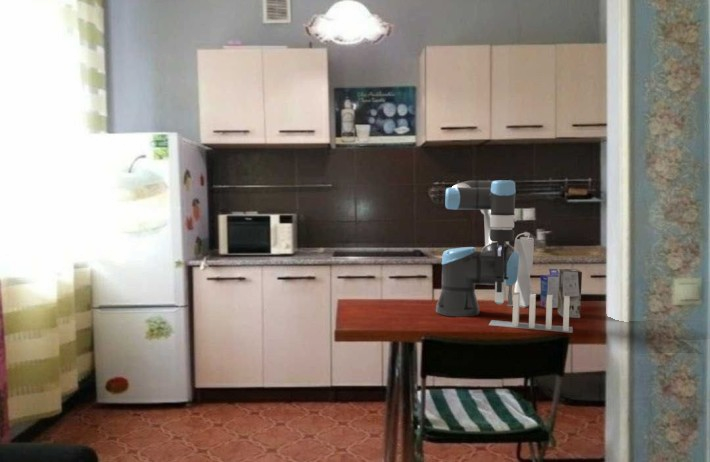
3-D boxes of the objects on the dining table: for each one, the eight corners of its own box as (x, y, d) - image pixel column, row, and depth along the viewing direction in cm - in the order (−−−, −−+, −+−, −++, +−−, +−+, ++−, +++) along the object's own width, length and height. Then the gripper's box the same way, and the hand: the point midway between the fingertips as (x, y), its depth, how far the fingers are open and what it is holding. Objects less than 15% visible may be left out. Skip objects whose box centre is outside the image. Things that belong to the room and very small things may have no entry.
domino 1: (512, 326, 173) (513, 294, 173) (513, 322, 178) (514, 292, 178) (517, 326, 173) (518, 295, 172) (518, 323, 177) (519, 292, 177)
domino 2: (528, 327, 172) (529, 295, 171) (529, 324, 176) (530, 293, 176) (534, 328, 171) (535, 296, 171) (535, 324, 176) (535, 293, 175)
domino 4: (562, 330, 168) (564, 298, 168) (563, 327, 173) (564, 295, 172) (568, 331, 167) (569, 298, 167) (568, 327, 172) (569, 296, 172)
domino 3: (545, 329, 170) (546, 297, 169) (546, 325, 174) (547, 294, 174) (551, 329, 169) (552, 297, 169) (551, 326, 174) (552, 295, 173)
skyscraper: (515, 302, 217) (517, 232, 216) (535, 305, 212) (537, 233, 211) (506, 305, 211) (508, 233, 209) (527, 308, 205) (529, 234, 204)
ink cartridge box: (561, 305, 214) (562, 268, 213) (570, 307, 208) (571, 269, 208) (538, 305, 211) (540, 268, 210) (547, 308, 206) (548, 270, 205)
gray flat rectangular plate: (488, 326, 175) (488, 325, 175) (491, 321, 182) (491, 320, 182) (572, 333, 166) (572, 332, 166) (572, 328, 173) (572, 327, 173)
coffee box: (581, 318, 189) (582, 271, 188) (561, 317, 190) (562, 271, 189) (575, 313, 198) (577, 268, 197) (557, 312, 199) (558, 268, 198)
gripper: (511, 230, 166) (509, 306, 167) (516, 228, 183) (514, 297, 184) (486, 229, 169) (484, 304, 170) (493, 227, 185) (491, 295, 186)
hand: (500, 300), depth 177 cm, fingers closed on teal domino, 5 cm apart
